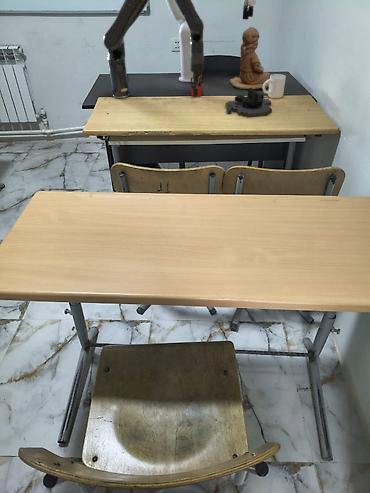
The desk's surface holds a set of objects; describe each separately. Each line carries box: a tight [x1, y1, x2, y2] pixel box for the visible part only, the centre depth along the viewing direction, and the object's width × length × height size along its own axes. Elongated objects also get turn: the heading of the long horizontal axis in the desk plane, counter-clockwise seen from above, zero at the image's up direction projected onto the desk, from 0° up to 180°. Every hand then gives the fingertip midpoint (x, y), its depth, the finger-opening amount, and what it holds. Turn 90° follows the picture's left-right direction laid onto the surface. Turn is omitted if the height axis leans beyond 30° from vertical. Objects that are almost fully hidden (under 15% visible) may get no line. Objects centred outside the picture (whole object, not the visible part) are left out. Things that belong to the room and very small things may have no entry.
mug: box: [262, 73, 287, 99], centre depth 195 cm, size 12×8×10 cm
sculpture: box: [229, 26, 271, 90], centre depth 208 cm, size 27×24×30 cm
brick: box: [190, 85, 204, 98], centre depth 203 cm, size 5×5×4 cm
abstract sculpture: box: [224, 88, 273, 118], centre depth 181 cm, size 25×9×20 cm
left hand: (197, 93), depth 204 cm, fingers closed on brick, 5 cm apart
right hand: (247, 17), depth 204 cm, fingers open, 9 cm apart
